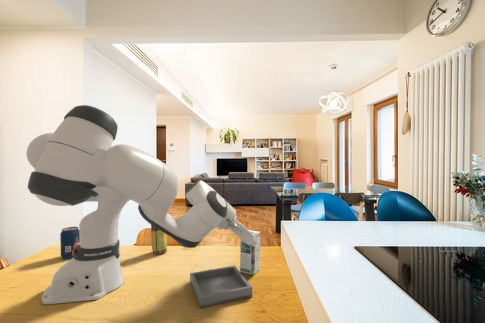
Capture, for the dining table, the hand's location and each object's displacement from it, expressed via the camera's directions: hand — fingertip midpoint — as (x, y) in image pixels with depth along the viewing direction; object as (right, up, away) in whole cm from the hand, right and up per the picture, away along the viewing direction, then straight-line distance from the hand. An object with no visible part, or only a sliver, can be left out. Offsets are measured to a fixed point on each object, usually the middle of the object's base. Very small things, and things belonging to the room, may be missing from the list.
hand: (249, 240), depth 95 cm
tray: (-10, -12, -12) cm, 20 cm away
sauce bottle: (-39, -11, +19) cm, 45 cm away
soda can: (-75, -11, +14) cm, 77 cm away
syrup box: (0, -12, +1) cm, 12 cm away
